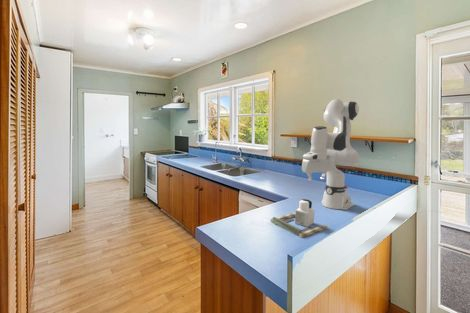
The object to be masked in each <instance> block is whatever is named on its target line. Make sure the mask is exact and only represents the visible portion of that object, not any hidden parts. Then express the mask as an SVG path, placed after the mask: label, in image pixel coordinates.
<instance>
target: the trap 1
mask: <svg viewBox="0 0 470 313" xmlns="http://www.w3.org/2000/svg"><path fill="white" fill-rule="evenodd" d="M282 221H284V222H286V223H291V222H295V219H293V218H292V217H291V218H287V219H284V220H282Z"/></svg>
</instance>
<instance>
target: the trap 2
mask: <svg viewBox="0 0 470 313" xmlns="http://www.w3.org/2000/svg"><path fill="white" fill-rule="evenodd" d="M313 228H314V227H311V226H309V227H305V228H301V233H302V232H305V231H308V230H311V229H313Z"/></svg>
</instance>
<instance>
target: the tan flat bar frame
mask: <svg viewBox="0 0 470 313" xmlns="http://www.w3.org/2000/svg"><path fill="white" fill-rule="evenodd" d="M295 214H296V211H295V212H291V213H289V214H284V215H282V216H277V217H275V216H274V217H272V218H270V223H271V224H274V225H276V226H278V227H280V228H282V229H284V230H286V231H287V232H290V233H292V234H293V235H295V236H297V237H300V238H304V237H307V236H309V235H312V234H315V233H319V232H320V231H323V230H326V229H328V225H327V224H323V225H320V226H319V225H318V226H316V227H312V228H313V229H311V230H308V231H305V232H302V233H301V230H302V228H299V227H296V226H295V225H292V224H290V223H289V222H287V223H286V222H284V221H282V220H285V219H289V218H291V219H292V218H295Z"/></svg>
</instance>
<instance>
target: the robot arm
mask: <svg viewBox="0 0 470 313" xmlns="http://www.w3.org/2000/svg"><path fill="white" fill-rule="evenodd" d="M359 108H360V107H359V106H358V103H357V102H356V101H344V102H343V101H342V100H341V99H338V98H335V99H332V100H330V102H329V103H328V104H327V105H326V106H325V108H324V110H323V116H322V117H323V120H324V122H325V123H326V125H329V126H332V127H333V131H332V132H329V130H328V129H329V128H328V127H326V126H320V125H319V126H315V127H313V128H312V132H311V137H310V144H311V146H310V149H309V150H310V151H308V152H306V153H304V154H303V155H302V158H303V159H302V162H301V171H302V173H305V174H306V176H307V177H308V179H307V180H308V181H313V176H312V175H313V173H314V174H315V173H322V174H321V175H320V177H319V178H320V180H325V178H326V184H325V186H324V187H325V189H324V192H323V197H322V200H321V202H320V203H321V204H322V206H323V207H325V208H328V209H332V210H344V211H347V210H349V209H350V208H352V207H353V206H355V203H354V202H352V197H351V195H349V193H348V192H347V191H346V190H348V187H349V186H347V185H345V180H346V179H345V178H346V175H345V173H344V171H341V170H340V169H338V168H337V167H336V166H345V167H348V166H349V167H350V166H356V165H357V164H358V163H359V161H360V154H359V152H358V151H357V150H355V149H354V148H353V147H352V145H351V142H350V141H351V139H350V138H351V134H352V133H351V131H352V123H351V121H354V119H355V118H356V117H358V114H359V110H360V109H359Z"/></svg>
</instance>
